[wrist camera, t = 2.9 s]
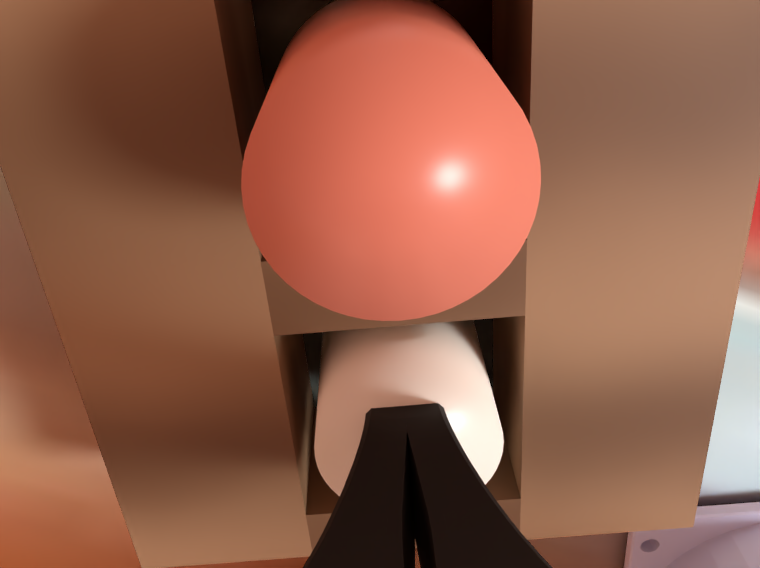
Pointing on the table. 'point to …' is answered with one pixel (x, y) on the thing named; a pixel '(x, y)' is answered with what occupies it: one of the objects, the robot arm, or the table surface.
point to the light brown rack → (300, 315)
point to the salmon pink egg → (389, 163)
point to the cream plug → (404, 390)
